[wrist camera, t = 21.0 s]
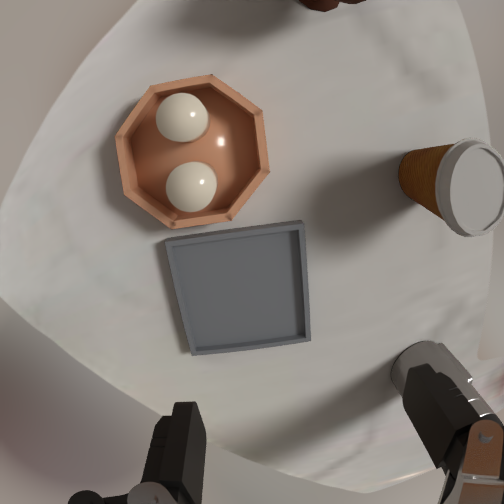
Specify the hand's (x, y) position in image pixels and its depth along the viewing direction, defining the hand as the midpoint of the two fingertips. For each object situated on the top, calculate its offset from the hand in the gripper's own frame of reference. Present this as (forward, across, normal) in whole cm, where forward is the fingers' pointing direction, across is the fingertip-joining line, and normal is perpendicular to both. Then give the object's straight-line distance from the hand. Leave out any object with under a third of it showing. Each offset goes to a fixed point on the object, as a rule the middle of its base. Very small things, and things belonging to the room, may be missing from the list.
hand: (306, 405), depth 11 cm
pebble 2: (+25, +6, -6) cm, 27 cm away
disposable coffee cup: (+27, -20, -5) cm, 34 cm away
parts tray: (+26, +3, +7) cm, 27 cm away
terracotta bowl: (+26, +6, -10) cm, 28 cm away
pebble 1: (+25, +6, -13) cm, 29 cm away
